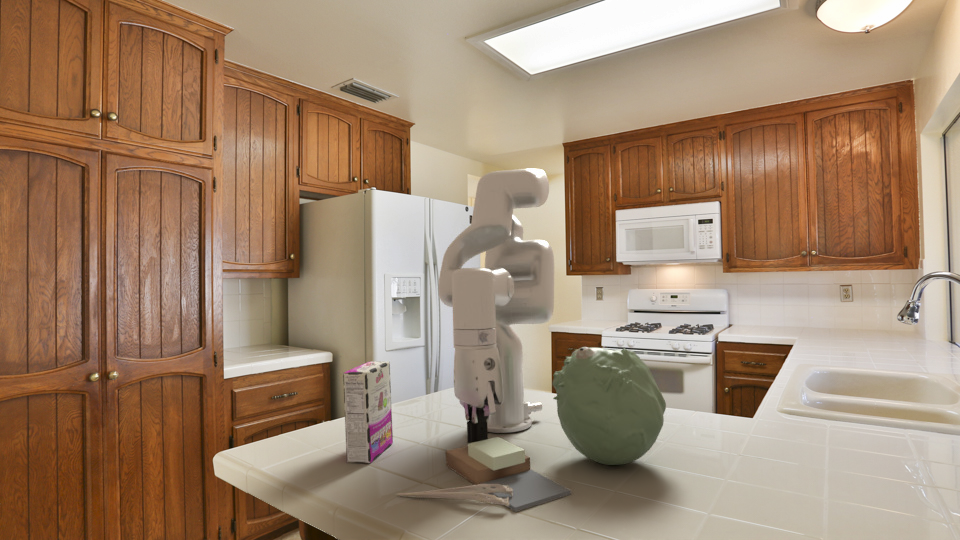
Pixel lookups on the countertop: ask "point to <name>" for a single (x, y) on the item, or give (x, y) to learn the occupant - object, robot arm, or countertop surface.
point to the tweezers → (468, 493)
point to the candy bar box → (367, 411)
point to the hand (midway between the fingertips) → (477, 443)
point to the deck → (479, 467)
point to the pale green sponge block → (496, 453)
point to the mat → (529, 489)
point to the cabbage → (608, 404)
